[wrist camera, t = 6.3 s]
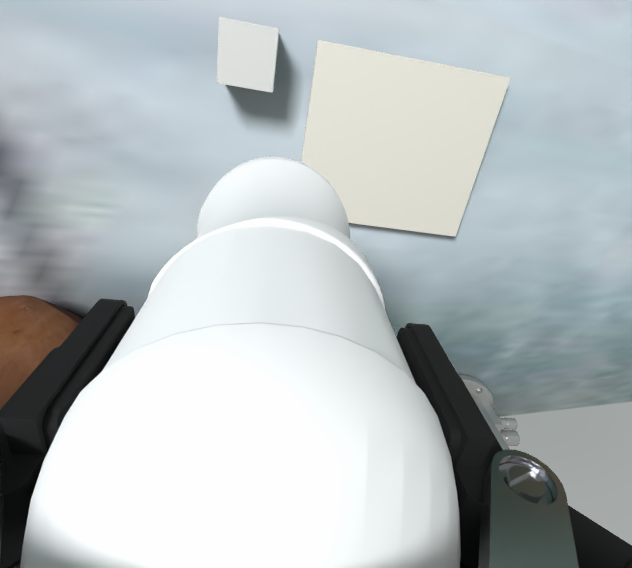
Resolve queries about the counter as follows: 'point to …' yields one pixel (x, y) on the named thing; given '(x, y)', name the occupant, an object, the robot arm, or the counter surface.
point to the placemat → (399, 135)
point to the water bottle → (253, 409)
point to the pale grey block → (247, 54)
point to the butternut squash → (28, 338)
